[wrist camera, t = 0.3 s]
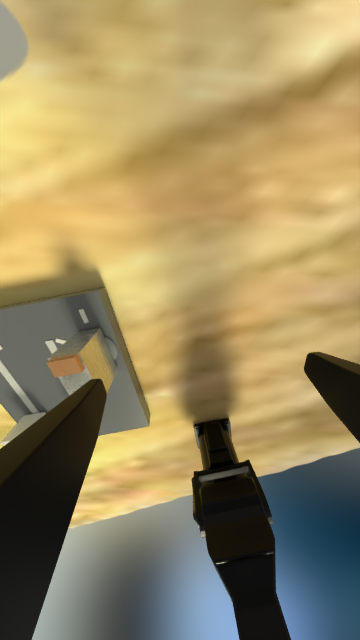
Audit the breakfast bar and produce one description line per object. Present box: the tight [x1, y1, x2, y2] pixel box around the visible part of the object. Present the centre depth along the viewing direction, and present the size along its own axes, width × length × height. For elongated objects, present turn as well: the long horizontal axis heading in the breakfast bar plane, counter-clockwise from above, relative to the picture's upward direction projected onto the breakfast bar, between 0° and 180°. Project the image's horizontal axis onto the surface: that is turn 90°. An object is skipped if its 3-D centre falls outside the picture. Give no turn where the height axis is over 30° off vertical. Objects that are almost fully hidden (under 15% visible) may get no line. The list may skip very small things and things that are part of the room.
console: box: [0, 287, 150, 436], centre depth 23 cm, size 22×18×2 cm
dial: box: [47, 328, 117, 396], centre depth 18 cm, size 6×3×6 cm, turn 10°
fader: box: [1, 412, 46, 446], centre depth 22 cm, size 2×3×4 cm
